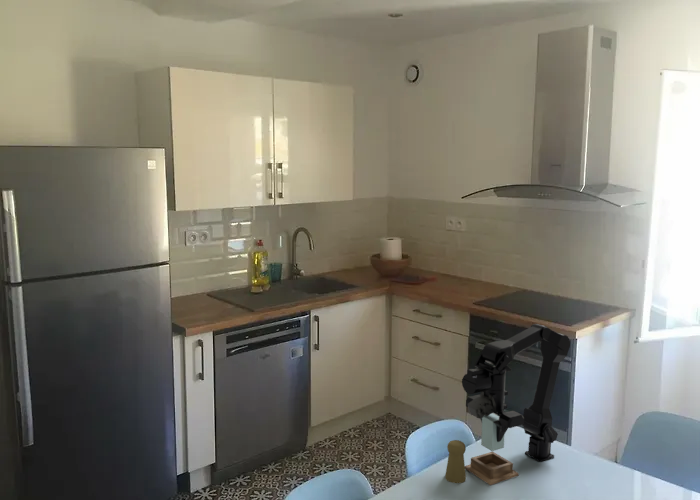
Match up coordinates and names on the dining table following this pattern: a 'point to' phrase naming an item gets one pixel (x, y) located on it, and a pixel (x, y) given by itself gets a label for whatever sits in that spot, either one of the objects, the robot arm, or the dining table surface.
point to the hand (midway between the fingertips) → (492, 438)
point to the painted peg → (490, 433)
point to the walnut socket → (491, 468)
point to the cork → (456, 462)
